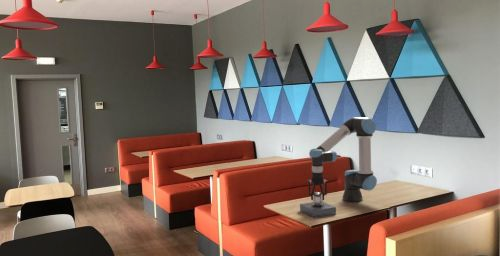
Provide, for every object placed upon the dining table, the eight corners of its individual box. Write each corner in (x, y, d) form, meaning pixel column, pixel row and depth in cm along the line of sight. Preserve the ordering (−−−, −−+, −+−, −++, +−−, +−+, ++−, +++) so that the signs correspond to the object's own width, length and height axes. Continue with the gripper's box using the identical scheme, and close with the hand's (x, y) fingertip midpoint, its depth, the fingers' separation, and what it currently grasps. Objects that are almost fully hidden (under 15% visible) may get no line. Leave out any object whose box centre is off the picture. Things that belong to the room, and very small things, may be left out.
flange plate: (321, 207, 297) (321, 201, 297) (336, 214, 281) (335, 207, 280) (300, 211, 290) (300, 204, 290) (313, 217, 274) (313, 210, 274)
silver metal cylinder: (314, 208, 288) (313, 192, 287) (321, 208, 288) (320, 192, 286) (314, 210, 283) (314, 193, 282) (321, 210, 283) (321, 193, 282)
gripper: (304, 172, 281) (304, 205, 283) (331, 172, 278) (331, 206, 280) (304, 170, 288) (304, 203, 290) (330, 170, 286) (330, 203, 288)
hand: (317, 204), depth 285 cm, fingers open, 5 cm apart
